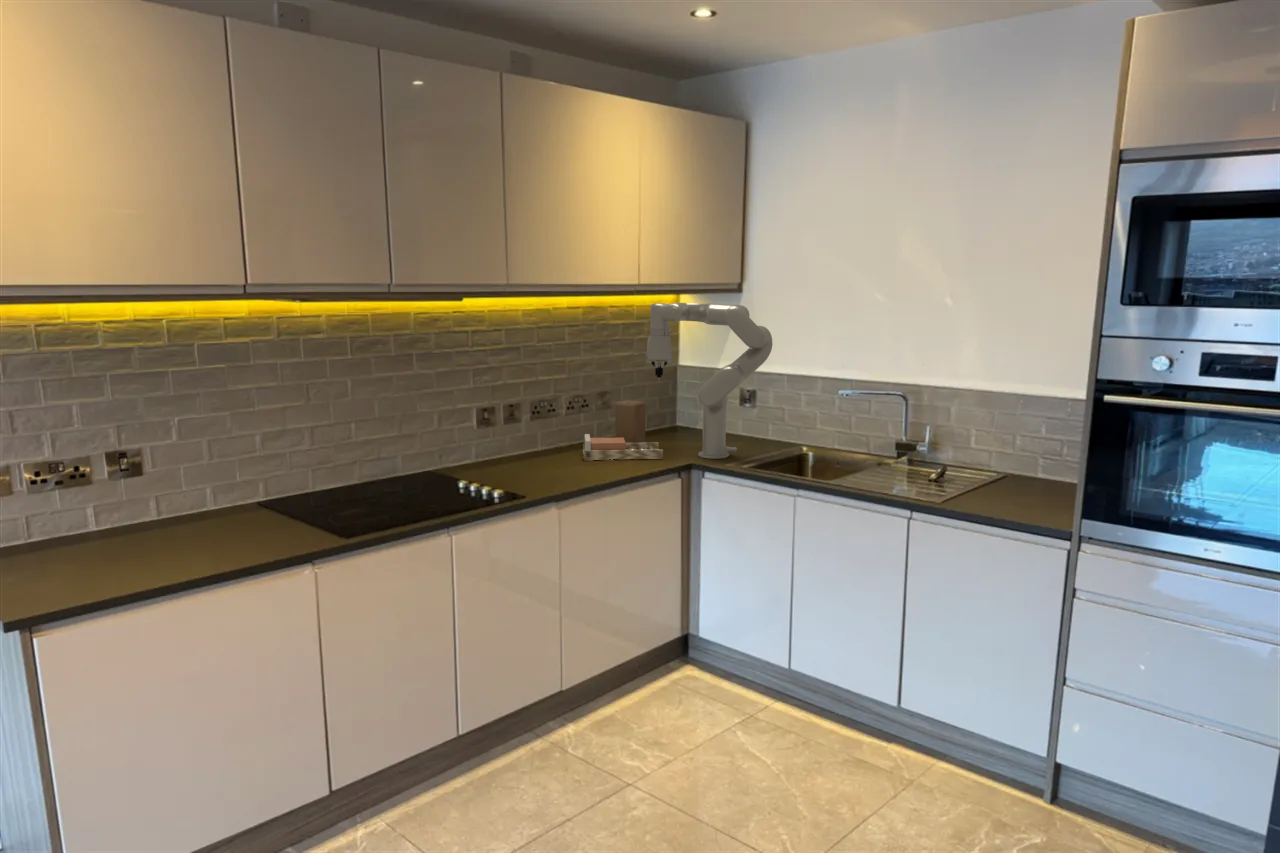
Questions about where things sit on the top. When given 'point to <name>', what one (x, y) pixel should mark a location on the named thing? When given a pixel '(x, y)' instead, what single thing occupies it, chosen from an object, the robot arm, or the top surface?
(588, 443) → the end stop
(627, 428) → the wooden block
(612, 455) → the roller bed
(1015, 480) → the top surface
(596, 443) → the slab
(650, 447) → the rollers
